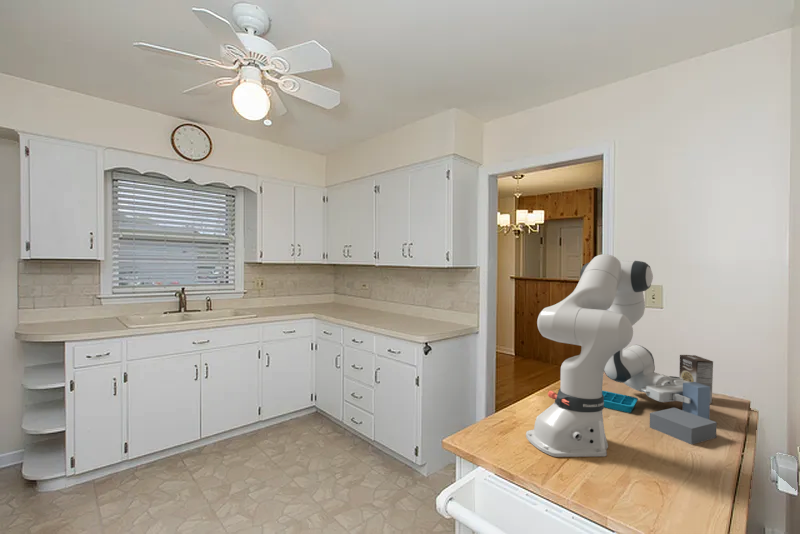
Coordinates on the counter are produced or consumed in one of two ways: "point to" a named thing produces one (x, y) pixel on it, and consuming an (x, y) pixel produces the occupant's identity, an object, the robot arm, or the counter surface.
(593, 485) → the counter surface
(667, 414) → the charcoal block
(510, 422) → the counter surface
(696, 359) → the coffee box
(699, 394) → the slate-blue block
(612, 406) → the ice cube tray
